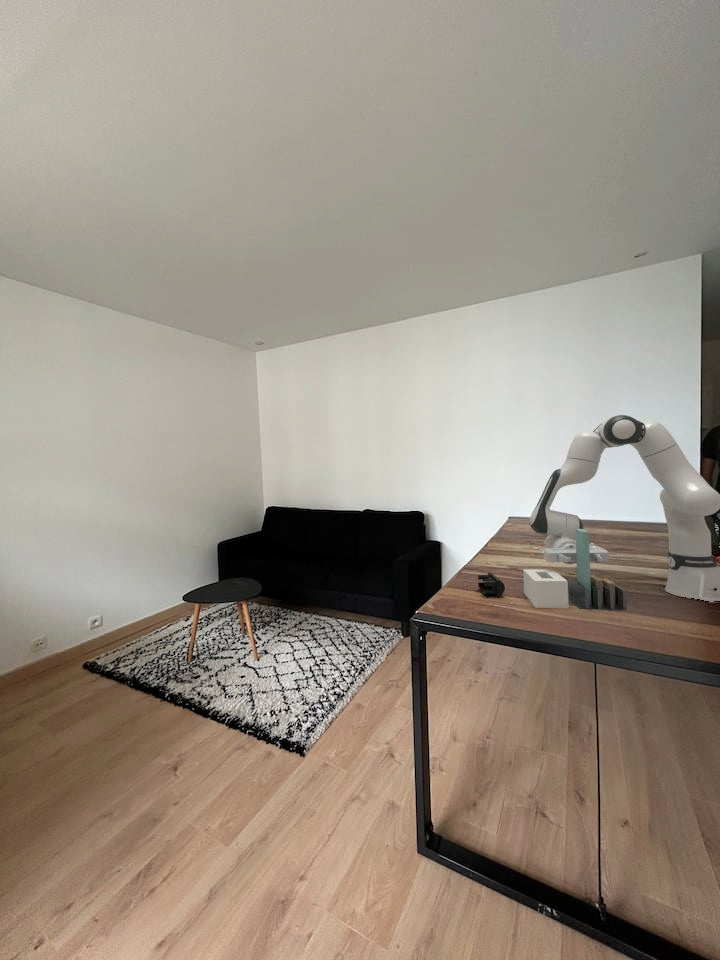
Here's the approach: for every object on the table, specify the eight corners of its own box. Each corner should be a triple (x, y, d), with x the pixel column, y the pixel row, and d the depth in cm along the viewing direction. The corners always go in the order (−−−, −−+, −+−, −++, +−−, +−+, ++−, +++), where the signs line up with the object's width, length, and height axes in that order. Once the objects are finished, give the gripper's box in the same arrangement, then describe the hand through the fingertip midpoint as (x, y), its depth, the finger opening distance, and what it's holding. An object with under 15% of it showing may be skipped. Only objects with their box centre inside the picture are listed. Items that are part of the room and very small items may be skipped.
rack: (611, 597, 128) (610, 577, 128) (635, 614, 114) (634, 591, 113) (562, 596, 131) (561, 576, 131) (579, 612, 116) (578, 590, 116)
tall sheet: (583, 598, 126) (581, 528, 125) (591, 604, 120) (588, 531, 119) (577, 597, 126) (575, 528, 126) (585, 604, 120) (582, 531, 120)
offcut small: (606, 598, 124) (605, 578, 124) (615, 604, 119) (614, 583, 118) (600, 598, 125) (599, 578, 125) (609, 604, 119) (608, 583, 119)
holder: (553, 597, 131) (552, 569, 131) (568, 611, 117) (567, 581, 117) (524, 596, 133) (523, 569, 133) (535, 611, 119) (534, 580, 119)
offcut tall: (594, 598, 125) (594, 575, 125) (603, 604, 119) (602, 580, 119) (589, 598, 125) (588, 575, 125) (597, 604, 120) (596, 580, 119)
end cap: (505, 598, 133) (504, 579, 133) (485, 598, 133) (485, 580, 133) (496, 589, 143) (495, 572, 143) (478, 589, 143) (477, 572, 143)
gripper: (537, 543, 137) (550, 551, 124) (597, 542, 134) (617, 550, 120) (538, 559, 137) (551, 569, 124) (598, 559, 134) (617, 569, 120)
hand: (584, 560), depth 122 cm, fingers open, 8 cm apart
